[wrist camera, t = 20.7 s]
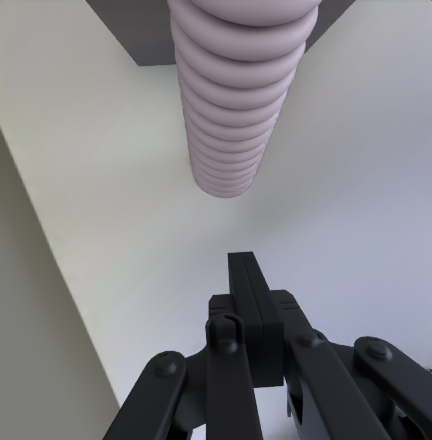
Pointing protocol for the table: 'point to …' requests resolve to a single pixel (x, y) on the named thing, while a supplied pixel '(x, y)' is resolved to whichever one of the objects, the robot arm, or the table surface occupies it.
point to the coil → (235, 80)
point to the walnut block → (161, 28)
